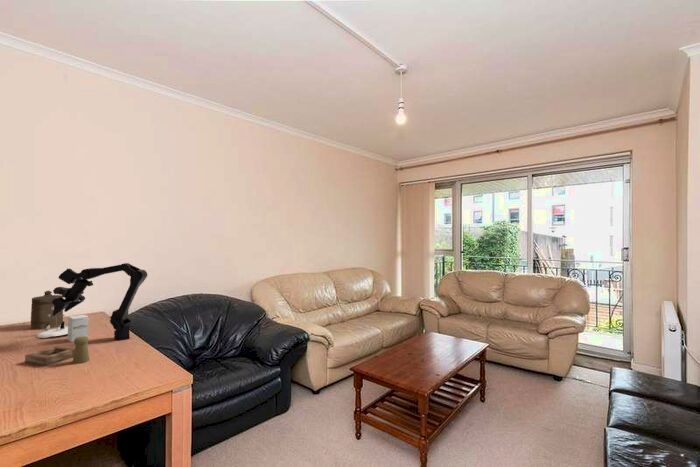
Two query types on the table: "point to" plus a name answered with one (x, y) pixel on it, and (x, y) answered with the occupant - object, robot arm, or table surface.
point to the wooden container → (44, 311)
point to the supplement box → (77, 327)
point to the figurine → (54, 332)
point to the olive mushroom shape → (81, 350)
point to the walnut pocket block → (50, 356)
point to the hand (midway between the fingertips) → (59, 313)
